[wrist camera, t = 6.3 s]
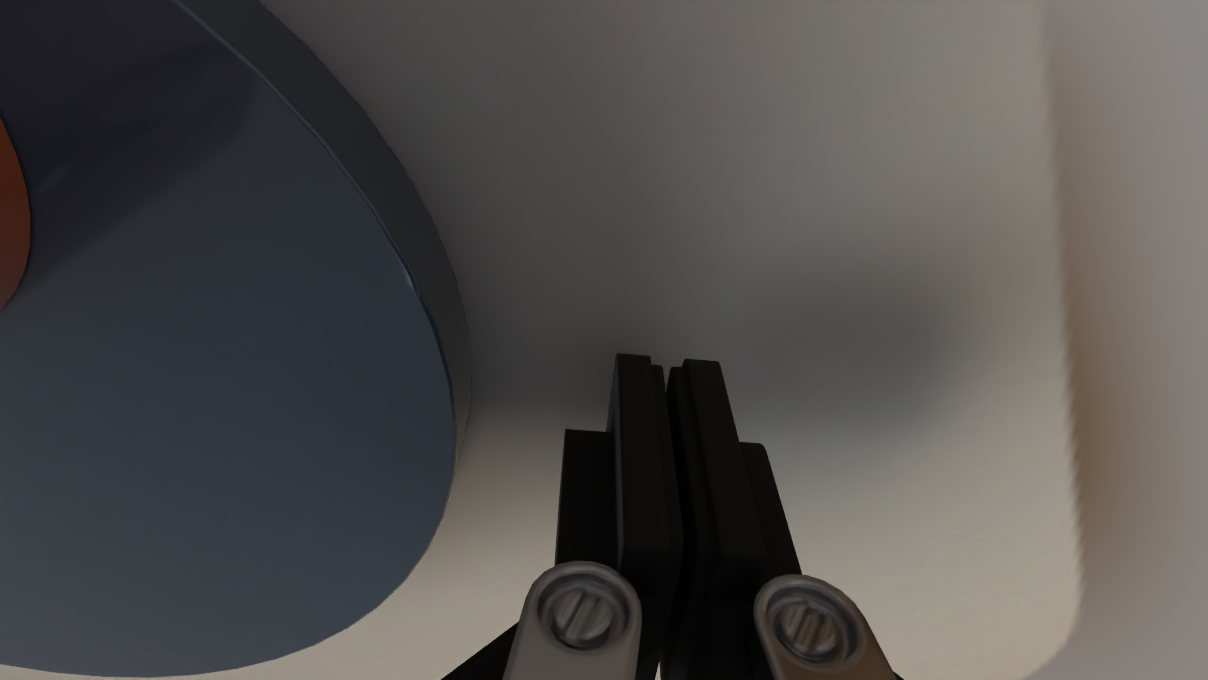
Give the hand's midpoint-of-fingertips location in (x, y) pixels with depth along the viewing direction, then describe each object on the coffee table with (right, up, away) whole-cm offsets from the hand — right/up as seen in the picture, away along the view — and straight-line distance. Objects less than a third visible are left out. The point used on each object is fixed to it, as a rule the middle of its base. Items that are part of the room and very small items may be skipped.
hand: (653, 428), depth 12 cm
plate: (-11, +2, 0) cm, 11 cm away
